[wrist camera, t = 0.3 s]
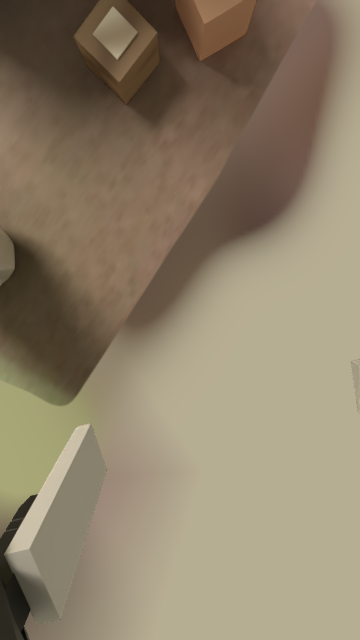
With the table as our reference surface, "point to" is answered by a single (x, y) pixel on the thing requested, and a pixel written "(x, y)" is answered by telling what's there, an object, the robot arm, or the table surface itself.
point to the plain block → (214, 22)
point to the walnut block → (118, 46)
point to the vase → (6, 257)
